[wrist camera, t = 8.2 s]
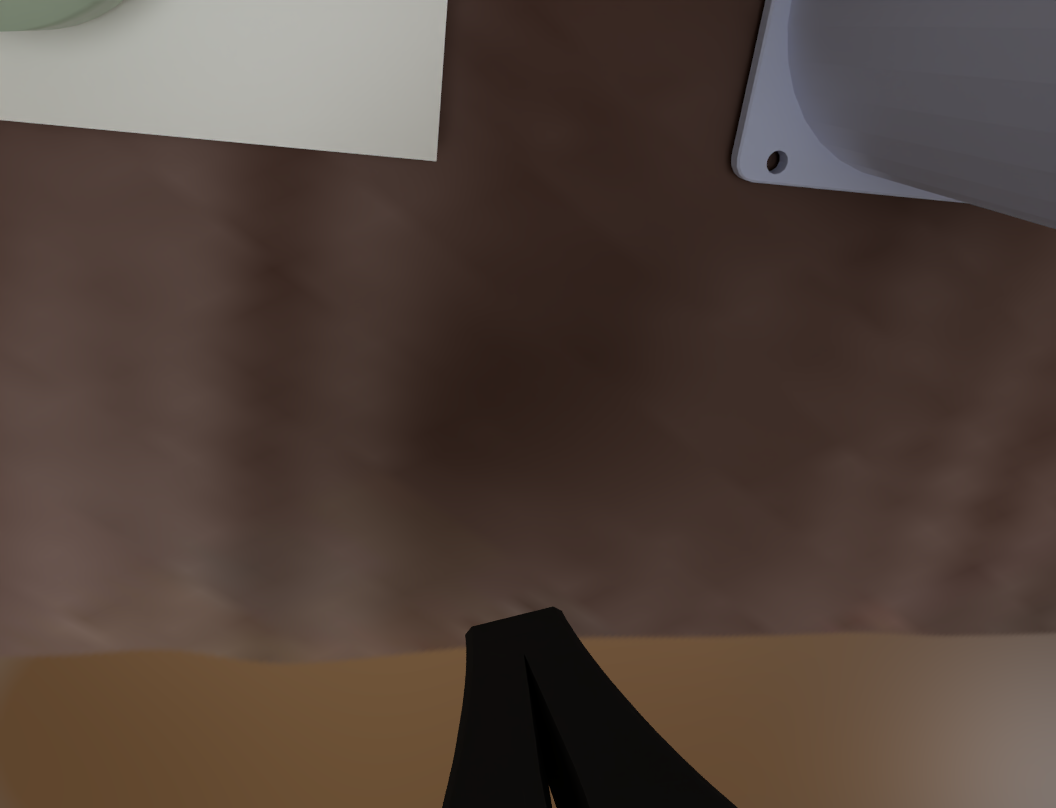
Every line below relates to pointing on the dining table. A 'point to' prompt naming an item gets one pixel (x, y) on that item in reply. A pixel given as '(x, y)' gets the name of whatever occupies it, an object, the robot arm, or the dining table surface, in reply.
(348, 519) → the dining table surface
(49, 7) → the sage button
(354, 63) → the control panel
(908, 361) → the dining table surface
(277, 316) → the dining table surface
